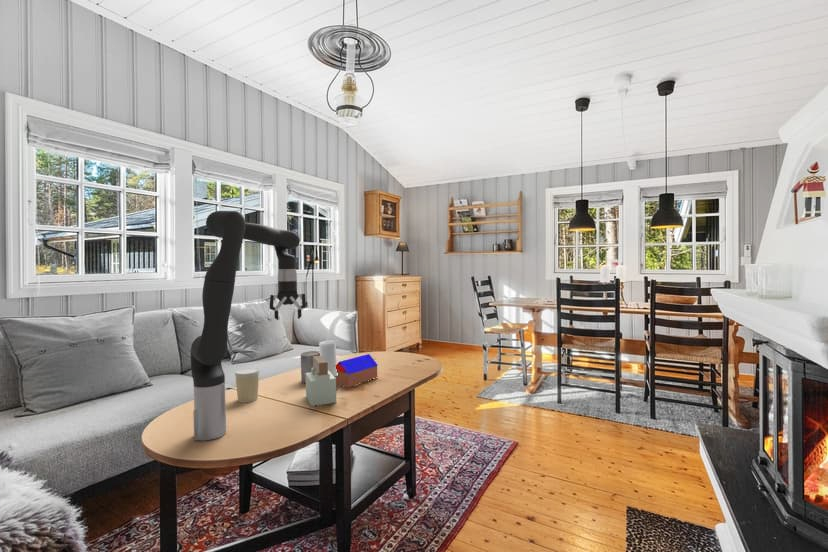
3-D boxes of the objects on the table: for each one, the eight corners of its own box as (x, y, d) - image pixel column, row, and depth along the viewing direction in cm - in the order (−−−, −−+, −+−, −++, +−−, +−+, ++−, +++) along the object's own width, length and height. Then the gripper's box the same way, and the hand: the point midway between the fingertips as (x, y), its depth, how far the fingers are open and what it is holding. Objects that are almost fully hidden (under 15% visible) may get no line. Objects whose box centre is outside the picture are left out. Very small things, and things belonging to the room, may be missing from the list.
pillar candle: (319, 377, 200) (318, 347, 199) (323, 382, 191) (322, 351, 190) (299, 379, 196) (298, 349, 195) (302, 384, 187) (301, 353, 186)
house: (378, 378, 196) (377, 355, 196) (348, 388, 180) (348, 363, 180) (361, 374, 203) (360, 352, 203) (331, 384, 187) (330, 360, 187)
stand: (311, 406, 157) (310, 376, 157) (306, 396, 170) (305, 368, 169) (336, 402, 161) (335, 373, 161) (329, 392, 174) (328, 365, 174)
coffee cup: (251, 394, 173) (251, 367, 173) (264, 398, 168) (263, 370, 168) (231, 400, 166) (230, 372, 165) (243, 404, 160) (243, 375, 160)
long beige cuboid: (319, 375, 158) (318, 363, 158) (313, 367, 171) (312, 356, 170) (327, 374, 159) (327, 362, 159) (321, 366, 172) (321, 355, 172)
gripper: (269, 280, 157) (270, 321, 157) (306, 279, 163) (307, 319, 163) (268, 280, 164) (269, 319, 164) (303, 279, 169) (304, 317, 170)
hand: (288, 319), depth 163 cm, fingers open, 8 cm apart
